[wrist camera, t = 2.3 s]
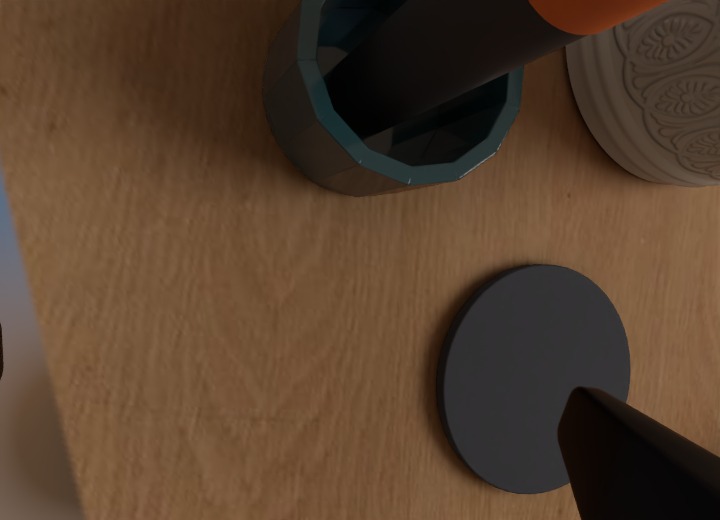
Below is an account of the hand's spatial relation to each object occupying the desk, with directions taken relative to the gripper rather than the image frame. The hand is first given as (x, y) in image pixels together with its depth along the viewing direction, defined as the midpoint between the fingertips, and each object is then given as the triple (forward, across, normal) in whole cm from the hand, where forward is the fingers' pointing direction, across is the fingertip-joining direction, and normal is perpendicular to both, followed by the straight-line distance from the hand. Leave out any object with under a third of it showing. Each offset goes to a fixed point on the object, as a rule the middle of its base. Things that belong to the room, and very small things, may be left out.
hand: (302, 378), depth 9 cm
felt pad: (+13, -11, +7) cm, 19 cm away
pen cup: (+15, -2, -3) cm, 15 cm away
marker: (+14, -2, -3) cm, 15 cm away
